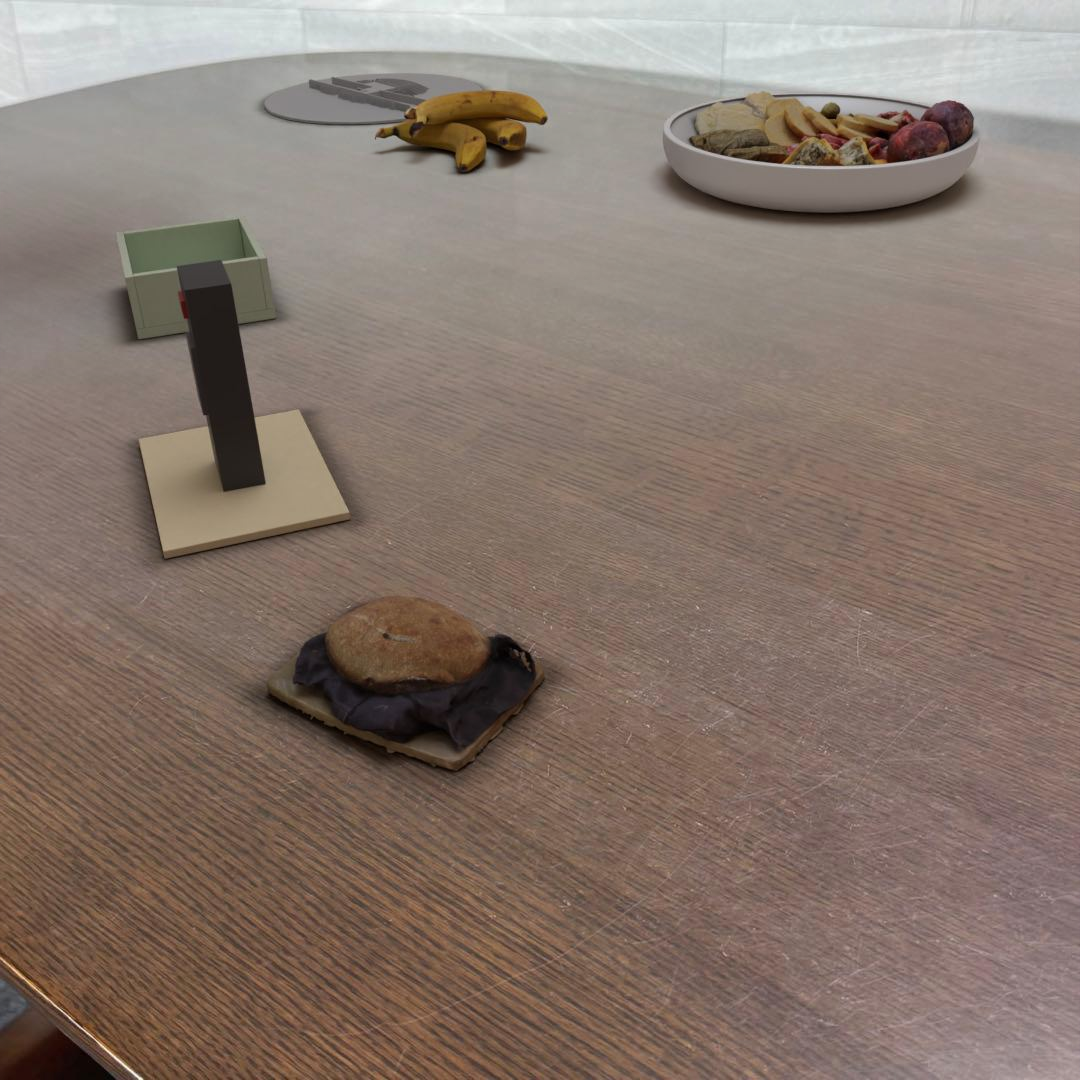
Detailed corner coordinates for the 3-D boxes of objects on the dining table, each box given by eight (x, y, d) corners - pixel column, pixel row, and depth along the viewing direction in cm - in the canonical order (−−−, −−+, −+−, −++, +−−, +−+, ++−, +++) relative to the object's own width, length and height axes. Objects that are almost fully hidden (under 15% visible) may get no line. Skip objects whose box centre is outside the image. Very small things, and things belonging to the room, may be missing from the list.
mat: (350, 519, 66) (349, 511, 66) (164, 559, 63) (162, 551, 63) (299, 416, 77) (298, 408, 77) (139, 445, 74) (138, 438, 74)
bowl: (630, 212, 111) (631, 125, 107) (693, 133, 135) (696, 59, 131) (970, 234, 103) (985, 141, 99) (972, 146, 127) (985, 68, 123)
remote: (219, 493, 68) (179, 290, 62) (210, 462, 71) (171, 266, 65) (266, 484, 69) (231, 283, 62) (255, 453, 72) (221, 259, 66)
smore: (254, 702, 53) (240, 635, 51) (372, 605, 59) (364, 542, 57) (451, 785, 48) (443, 715, 46) (558, 670, 54) (556, 604, 52)
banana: (384, 138, 138) (379, 86, 135) (550, 135, 137) (548, 82, 134) (363, 175, 125) (357, 118, 122) (546, 171, 124) (545, 114, 121)
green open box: (138, 339, 89) (124, 277, 86) (128, 290, 98) (115, 232, 95) (276, 318, 92) (266, 257, 89) (254, 272, 101) (244, 215, 98)
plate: (225, 99, 157) (224, 90, 157) (402, 67, 172) (401, 57, 171) (339, 137, 139) (338, 126, 138) (526, 96, 154) (526, 86, 153)
